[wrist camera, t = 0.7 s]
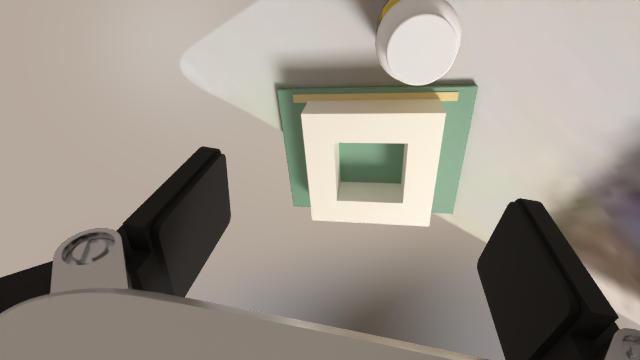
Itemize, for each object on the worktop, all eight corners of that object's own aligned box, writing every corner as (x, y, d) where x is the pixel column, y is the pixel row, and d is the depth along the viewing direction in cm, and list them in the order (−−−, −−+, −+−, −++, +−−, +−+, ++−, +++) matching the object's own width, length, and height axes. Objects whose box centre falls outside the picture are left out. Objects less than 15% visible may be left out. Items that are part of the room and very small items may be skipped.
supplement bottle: (369, 3, 26) (363, 18, 18) (438, -25, 24) (466, -21, 16) (385, 68, 29) (387, 107, 20) (449, 47, 27) (478, 81, 19)
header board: (476, 84, 28) (488, 100, 25) (451, 210, 36) (458, 235, 32) (278, 88, 31) (266, 103, 28) (294, 203, 39) (286, 225, 35)
